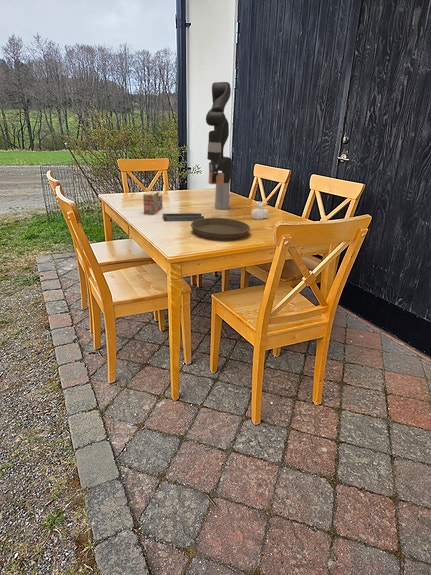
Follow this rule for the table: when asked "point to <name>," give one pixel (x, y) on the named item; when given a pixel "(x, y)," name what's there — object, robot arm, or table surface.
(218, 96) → the robot arm
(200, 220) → the plant saucer
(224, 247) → the table surface
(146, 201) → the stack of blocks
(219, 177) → the block
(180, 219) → the rectangular frame
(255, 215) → the bust
